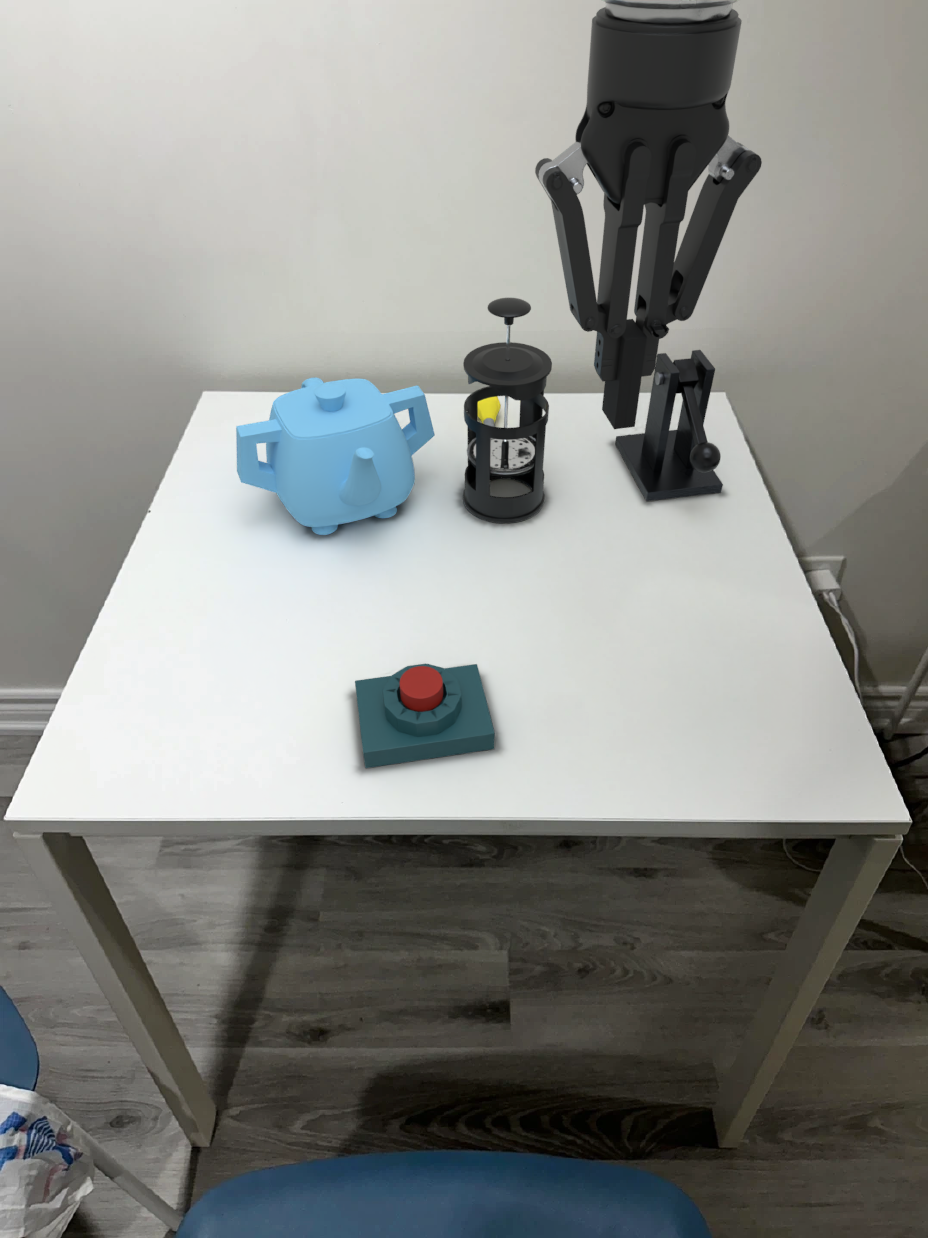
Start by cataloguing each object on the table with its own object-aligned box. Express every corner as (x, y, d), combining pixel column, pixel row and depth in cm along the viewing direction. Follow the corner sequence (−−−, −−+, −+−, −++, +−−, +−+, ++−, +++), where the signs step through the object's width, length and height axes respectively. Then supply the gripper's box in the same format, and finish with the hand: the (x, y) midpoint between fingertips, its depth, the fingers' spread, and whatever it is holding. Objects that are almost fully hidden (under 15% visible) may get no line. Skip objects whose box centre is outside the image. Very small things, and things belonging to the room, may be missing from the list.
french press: (513, 537, 93) (521, 337, 76) (443, 508, 96) (436, 312, 80) (567, 484, 99) (584, 291, 83) (499, 459, 103) (504, 270, 87)
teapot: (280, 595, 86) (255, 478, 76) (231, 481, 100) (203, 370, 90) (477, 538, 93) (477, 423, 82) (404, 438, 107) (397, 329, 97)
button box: (494, 749, 72) (495, 719, 70) (365, 768, 71) (360, 739, 68) (476, 679, 78) (477, 649, 75) (357, 696, 77) (352, 666, 74)
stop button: (446, 708, 71) (445, 695, 70) (403, 714, 70) (402, 701, 69) (439, 676, 73) (439, 663, 72) (398, 682, 73) (397, 668, 72)
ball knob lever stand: (721, 492, 98) (748, 384, 88) (646, 501, 97) (665, 393, 87) (684, 436, 106) (704, 332, 97) (614, 444, 105) (628, 339, 96)
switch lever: (717, 476, 92) (728, 462, 89) (689, 479, 91) (699, 465, 88) (689, 372, 95) (699, 355, 92) (662, 374, 95) (670, 358, 92)
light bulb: (493, 407, 112) (502, 388, 109) (497, 442, 109) (507, 423, 106) (468, 402, 111) (478, 383, 108) (472, 438, 108) (481, 419, 105)
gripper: (755, -13, 46) (686, 381, 63) (524, 1, 45) (514, 402, 61) (823, 11, 41) (728, 435, 58) (563, 27, 39) (541, 459, 56)
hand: (618, 417), depth 59 cm, fingers closed
